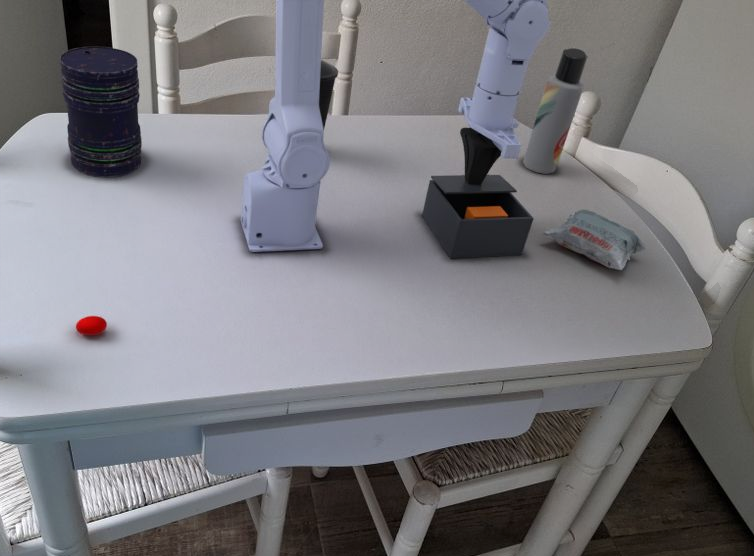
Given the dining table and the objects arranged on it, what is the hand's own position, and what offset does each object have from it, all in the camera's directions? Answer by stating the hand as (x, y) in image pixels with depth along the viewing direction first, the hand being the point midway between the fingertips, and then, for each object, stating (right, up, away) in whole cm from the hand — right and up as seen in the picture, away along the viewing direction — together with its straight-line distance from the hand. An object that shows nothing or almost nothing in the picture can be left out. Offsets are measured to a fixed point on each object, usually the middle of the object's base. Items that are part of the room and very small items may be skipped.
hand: (473, 182), depth 98 cm
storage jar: (-52, +3, +4) cm, 53 cm away
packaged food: (+17, -10, +2) cm, 20 cm away
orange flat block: (+1, -8, 0) cm, 8 cm away
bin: (0, -7, +2) cm, 7 cm away
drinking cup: (-25, +7, +16) cm, 30 cm away
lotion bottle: (+15, +6, +24) cm, 29 cm away
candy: (-43, -19, -25) cm, 54 cm away
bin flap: (0, 0, 0) cm, 0 cm away
